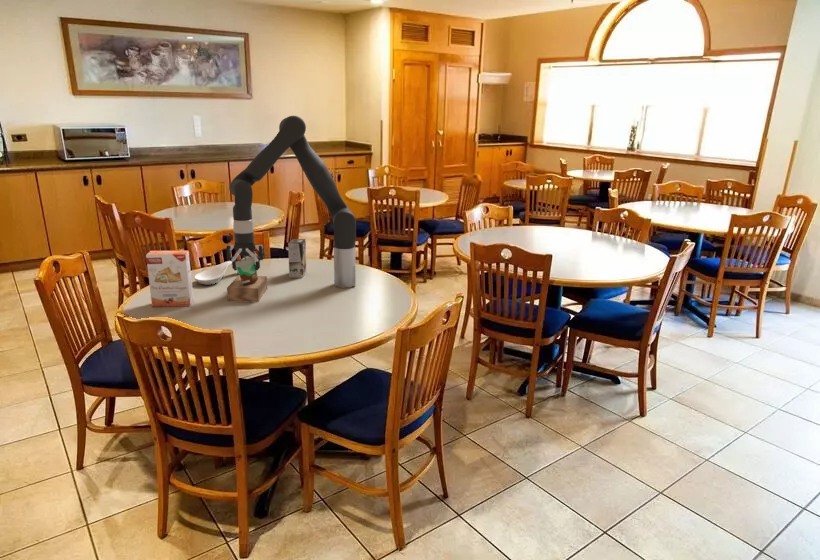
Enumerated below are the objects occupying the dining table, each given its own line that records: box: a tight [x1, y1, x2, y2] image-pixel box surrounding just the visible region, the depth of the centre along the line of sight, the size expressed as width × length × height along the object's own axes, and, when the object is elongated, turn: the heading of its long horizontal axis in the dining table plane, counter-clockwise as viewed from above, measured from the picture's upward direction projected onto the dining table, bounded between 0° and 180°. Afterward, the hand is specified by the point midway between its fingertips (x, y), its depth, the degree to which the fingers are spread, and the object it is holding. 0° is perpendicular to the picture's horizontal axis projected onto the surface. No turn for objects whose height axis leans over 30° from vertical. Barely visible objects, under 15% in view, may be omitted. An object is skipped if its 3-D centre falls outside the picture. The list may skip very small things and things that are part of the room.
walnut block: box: [226, 275, 268, 303], centre depth 219 cm, size 12×16×6 cm
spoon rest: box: [193, 260, 239, 286], centre depth 237 cm, size 24×12×7 cm, turn 148°
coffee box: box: [287, 238, 308, 279], centre depth 245 cm, size 9×6×16 cm
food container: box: [236, 255, 259, 285], centre depth 217 cm, size 12×6×10 cm, turn 2°
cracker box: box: [145, 250, 194, 308], centre depth 204 cm, size 14×6×21 cm, turn 99°
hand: (246, 269), depth 217 cm, fingers open, 8 cm apart
